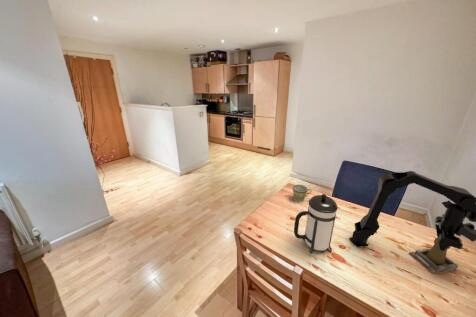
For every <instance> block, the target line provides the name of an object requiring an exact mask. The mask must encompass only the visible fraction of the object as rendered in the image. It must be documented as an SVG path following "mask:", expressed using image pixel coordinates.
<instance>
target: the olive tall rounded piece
mask: <svg viewBox="0 0 476 317" xmlns="http://www.w3.org/2000/svg"><path fill="white" fill-rule="evenodd" d="M433 243H434V244H433V246H432V247H431V248H430V249H431V250H430V251H429V252H428V254H427V255H426V256H427V258H428V259H429V260H431V261H432V262H433V263H436V264H439V265H443V264H444V262H445V258H446V257H447V252H448V250H449V249H450V248H451V246H449V247H448V248H447V249H445V250H444V251H442V250H440V247H439V240H438V237H436V238H435V239H434V240H433Z"/></svg>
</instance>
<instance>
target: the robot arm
mask: <svg viewBox="0 0 476 317" xmlns="http://www.w3.org/2000/svg"><path fill="white" fill-rule="evenodd" d="M411 184H415V185H418V186H420V187H422V188H425V189H427V190H429V191H432V192H434V193H437V194H439V195H441V196H444V198H447V199H448V200H446V201H442V202H441V205H443V207H444V208H446V210H445V211H444V213H442V215H441V216H439V215H438V216H436V217H435V218H434V223H435V226H434V227H435V230H436V238H438V240H439V247H440V250H442V251H444V250H445V249H447V248H448V247H449V246H451V247H452V248H455V249H458V250H461V249H462V248H463V246H464V244H463V241H462V239H461V238H460V237H461V236H463V237H464V238H466V239H468V240H470V242H473V243H475V241H476V229H475V225H474V224H473V223H476V196H474V194H472V193H471V192H470V191H469V190H467V189H465V188H462V187H458V186H455V185H447V184H445V183H442V182H439V181H437V180H434V179H432V178H429V177H427V176H425V175H421V174H419V173H417V171H412V170H409V171H408V170H407V171H400V172H399V171H398V172H396V171H395V172H391V173H383V174H380V176H379V180H378V184H377V186H378V188H377V192H376V194H375V197H374V198H373V201H372V202H371V205H370V208H369V209H368V212H367V214H366V215H363V217H362V218H361V220H360V221H357V222H355V223H354V230H353V232H352V235H351V237H349V240H350V242H352V243H353V245H354V246H355V247H356V248H364V247H366V248H367V247H369V244H368V240H369V238H370V237H371V236H373V235H375V234H377V233H378V230H379V229H380V224H379V223H380V222H379V221H378V219H379V217H380V214H381V212H382V210H383V208H384V206H385V204H386V202H387V200H388V198H389V197H390V196H391V195H393V194H394V193H395V191H397V189H401V188H404V187H407V186H409V185H411ZM465 218H466V219H468V221H469V222H467V223H464V221H465ZM455 235H456V236H455ZM458 236H459V237H458ZM451 247H450V248H451ZM447 250H448V249H447Z"/></svg>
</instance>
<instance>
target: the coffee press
mask: <svg viewBox="0 0 476 317" xmlns="http://www.w3.org/2000/svg"><path fill="white" fill-rule="evenodd" d="M338 208H339V207H338V204H337V202H336V201H335V200H334V199H333V198H332V197H329V196H327V194H325V193H322V194H317V195H313V196H311V198H309V199H308V208H307V210H303V211H300V212H298V213H297V215H296V216H295V219H294V226H293V233H294V234H293V235H294V236H295V238H296V239H300V240H304V241H305V243H306V246H308V247H309V248H310V250H309V253H310V254H313V253H314V251H325V250H327V252H328V253H331V252H332V250H333V249H332V246H331V241H332V237H333V232H334V228H335V222H336V221H335V220H336V216H337V212H338V211H337V210H338ZM303 216H307V217H306V223H305V231H304V234H299V226H300V225H299V224H300V221H301V220H300V219H301V218H302V217H303Z"/></svg>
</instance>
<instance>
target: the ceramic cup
mask: <svg viewBox="0 0 476 317" xmlns="http://www.w3.org/2000/svg"><path fill="white" fill-rule="evenodd" d="M308 191H309V192H308ZM307 192H308V193H307ZM292 193H293V200H295V201H294V202H296V203H303V202H304V201H305V198H306V196H308V195H309V194H311V193H312V189H310V188H307V186H306V185H303V184H294V185H292Z"/></svg>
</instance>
